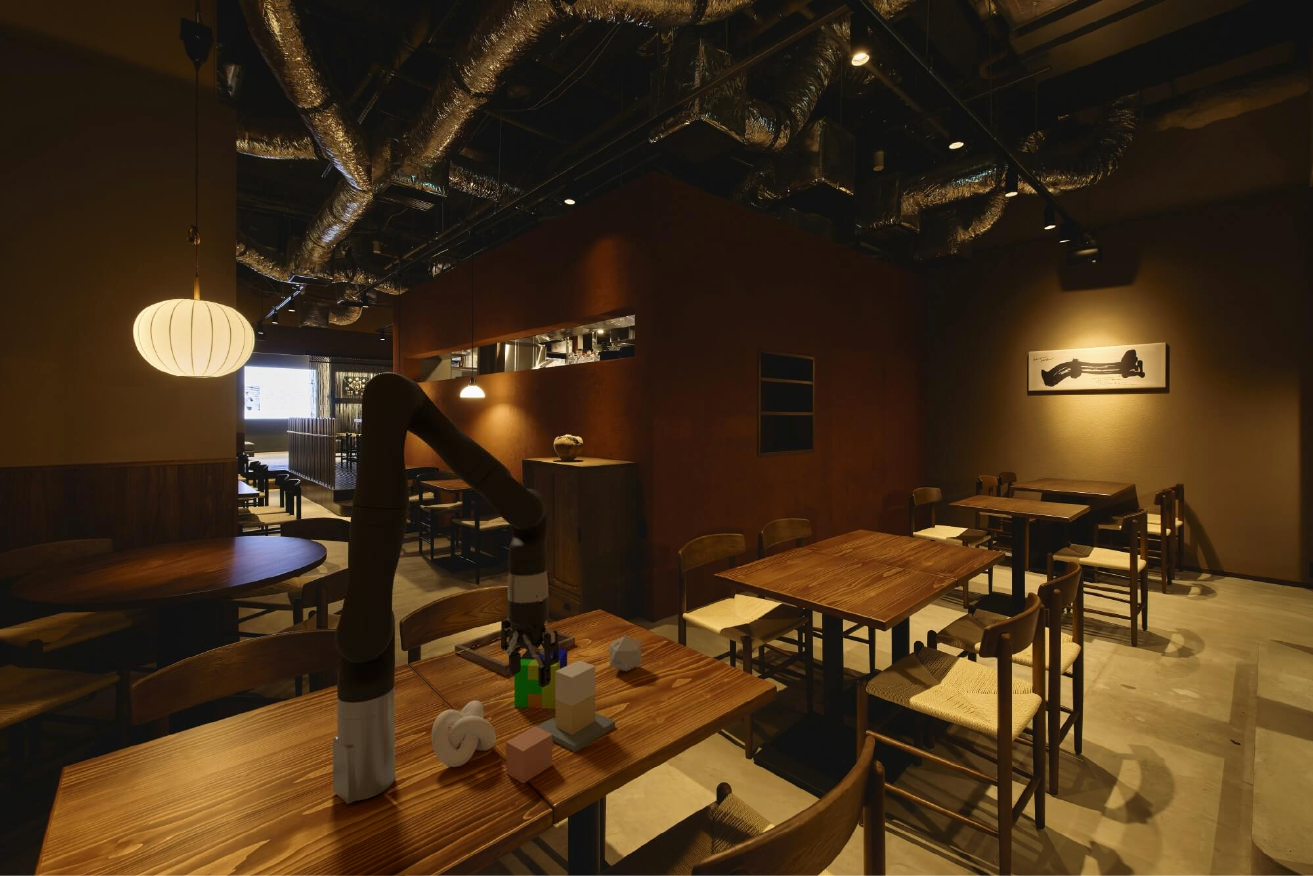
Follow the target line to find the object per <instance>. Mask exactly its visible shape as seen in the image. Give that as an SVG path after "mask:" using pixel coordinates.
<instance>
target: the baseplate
mask: <svg viewBox="0 0 1313 876" xmlns="http://www.w3.org/2000/svg"><path fill="white" fill-rule="evenodd" d="M595 717H596V721H594V722H593V723H591V724H589V725H588V726H586V727H584V728H583V729H581V730H580V731H578V732H576V733H575V734H573V735H571V734H569V733H567V732H565V731H563V730H561V729H558V728H556V715H555V716H553V717H551V718H550V719H547V720H546V721H544V722H542V723H540V724H538V725H537V726H536V727H538V728H540V729H542V730H544V731H546V732H548V733H550V734H552V742H554V743H556V744H557V745H559V746H562V747H564V748H565V749H567V750H570V751H572V752H573V753H577V752H578V751H579V750H581V749H582V748H584V747H586V746H587V745H588V744H590V743H592V742H594V741H595V740H597V739H598V738H600V737H601V736H603V735H604V734H605V733H607V732H609V731H611V730H612V729H614V728H615V727H616V721H615V720H614V719H611V718H609V717H607V716H604V715H602V714H599V713H597V712H595Z"/></svg>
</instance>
